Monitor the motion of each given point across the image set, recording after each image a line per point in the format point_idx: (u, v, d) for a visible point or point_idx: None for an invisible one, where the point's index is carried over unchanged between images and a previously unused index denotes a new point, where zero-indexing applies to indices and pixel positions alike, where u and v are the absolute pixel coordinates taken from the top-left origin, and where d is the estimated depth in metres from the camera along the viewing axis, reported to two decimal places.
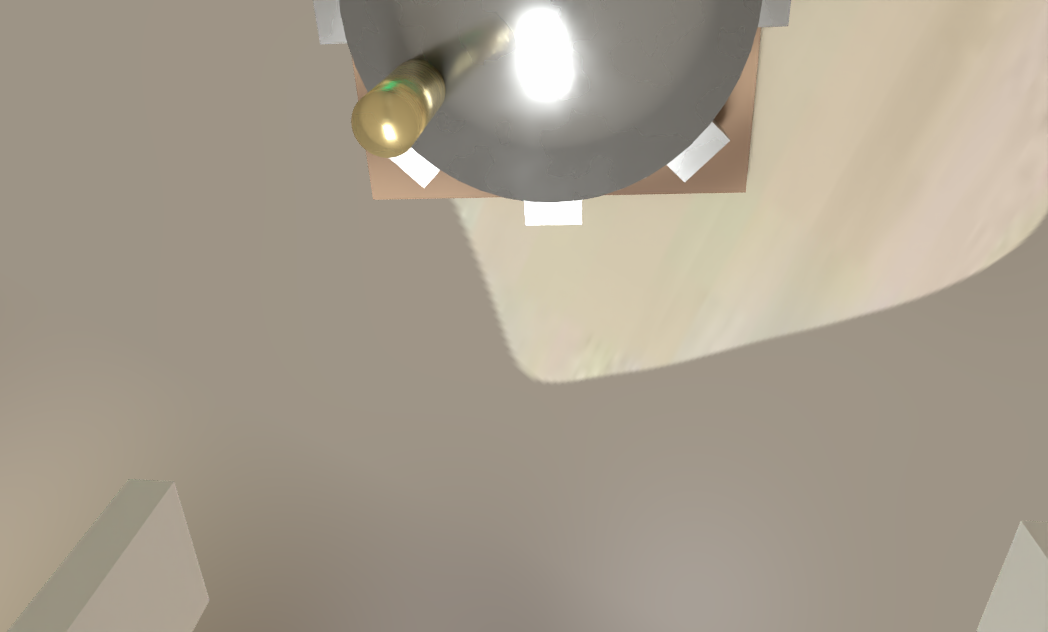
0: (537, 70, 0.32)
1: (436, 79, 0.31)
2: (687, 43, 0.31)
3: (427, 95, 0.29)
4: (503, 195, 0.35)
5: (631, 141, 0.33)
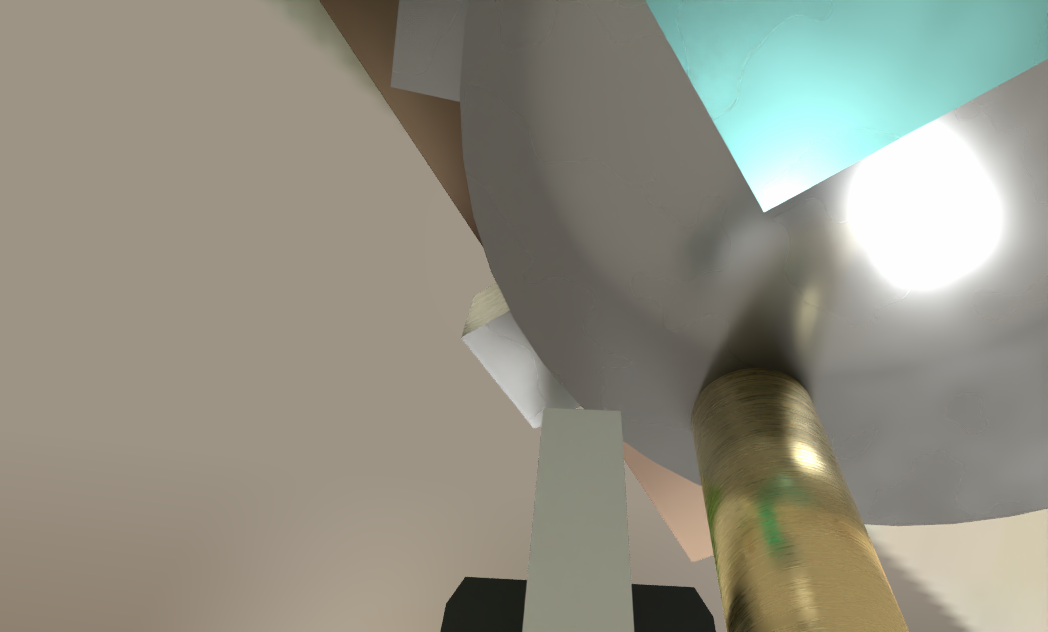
0: (1007, 273, 0.13)
1: (800, 405, 0.14)
2: None
3: (843, 500, 0.12)
4: (1007, 513, 0.16)
5: None
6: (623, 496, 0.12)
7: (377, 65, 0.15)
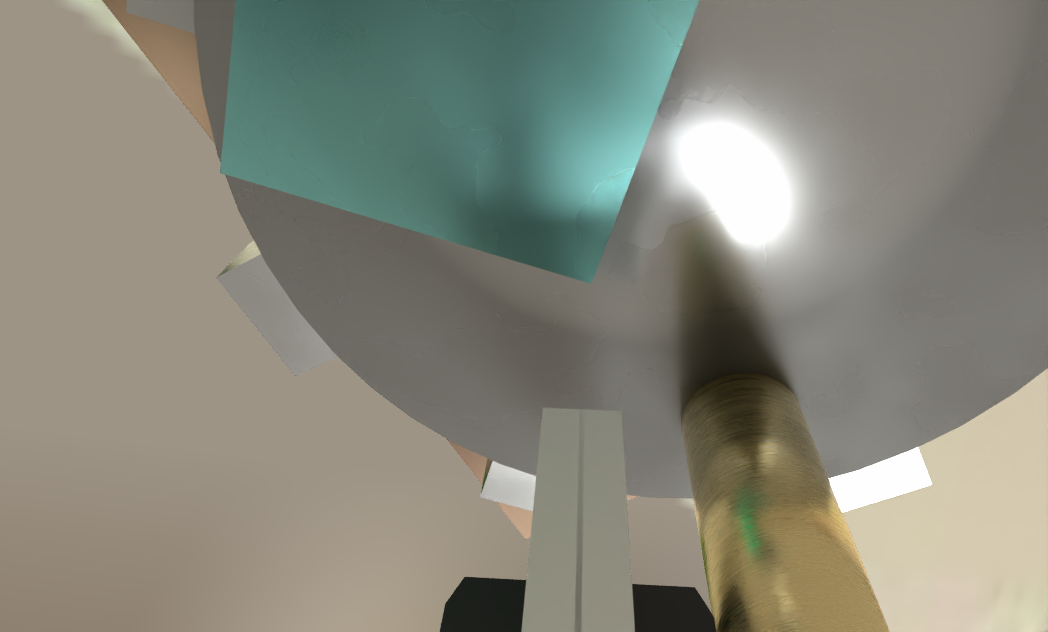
0: (833, 184, 0.13)
1: (745, 403, 0.14)
2: None
3: (780, 491, 0.12)
4: None
5: None
6: (624, 496, 0.12)
7: (155, 49, 0.15)
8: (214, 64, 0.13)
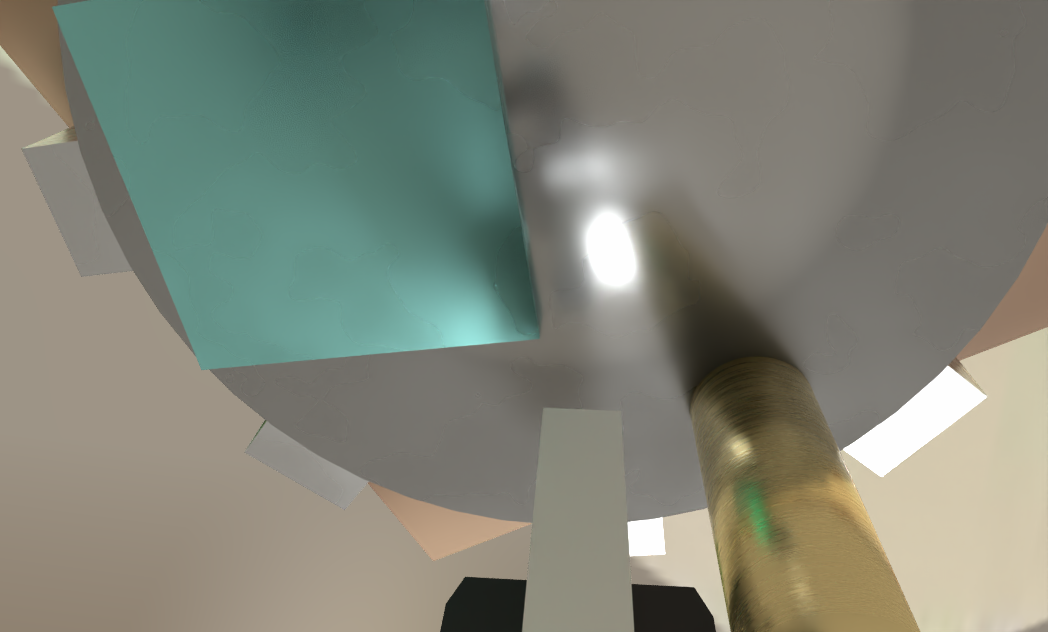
0: (710, 161, 0.13)
1: (729, 394, 0.14)
2: None
3: (760, 479, 0.12)
4: (1043, 221, 0.13)
5: None
6: (623, 496, 0.12)
7: (45, 82, 0.16)
8: (157, 287, 0.15)
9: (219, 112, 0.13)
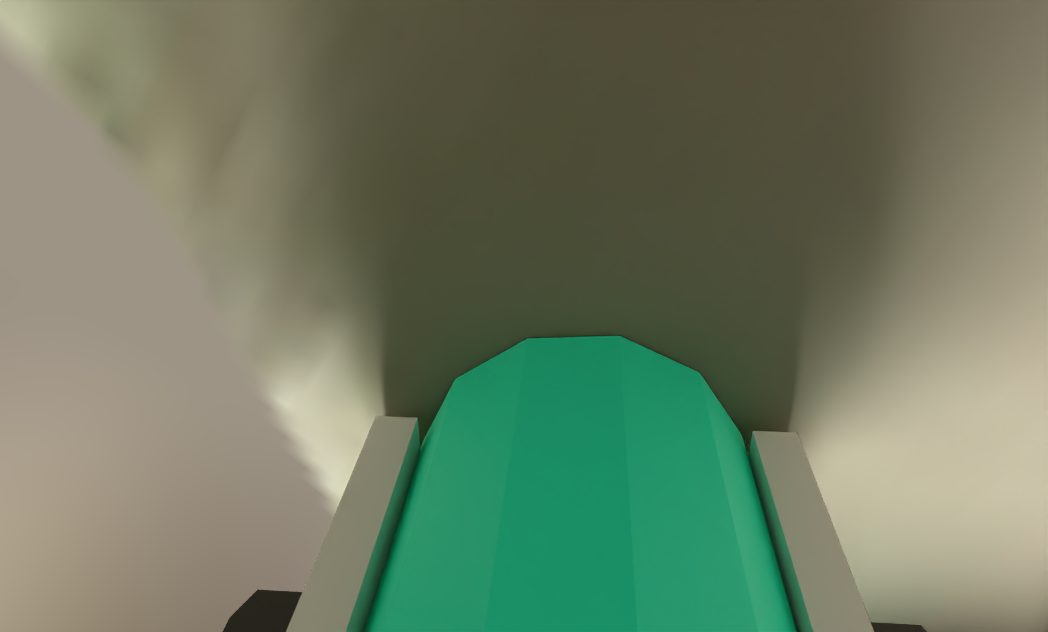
0: None
1: None
2: None
3: None
4: None
5: None
6: (831, 526, 0.11)
7: None
8: None
9: None
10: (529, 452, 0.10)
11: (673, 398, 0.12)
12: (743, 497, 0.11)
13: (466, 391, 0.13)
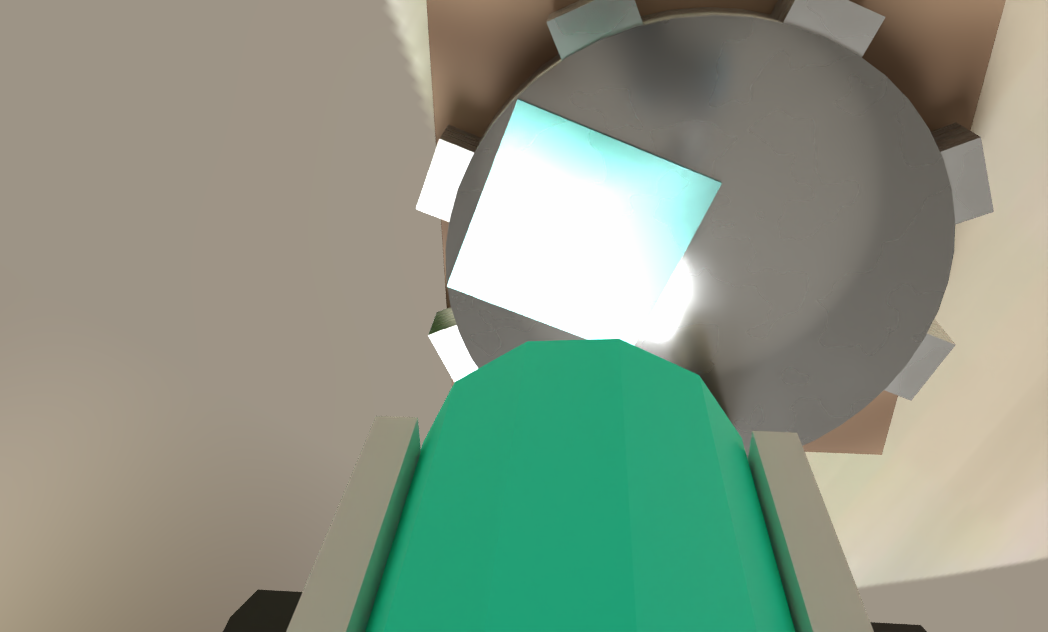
0: (752, 317, 0.27)
1: None
2: (827, 149, 0.24)
3: None
4: (861, 407, 0.28)
5: (897, 254, 0.25)
6: (830, 526, 0.11)
7: (439, 91, 0.26)
8: (455, 236, 0.26)
9: (558, 183, 0.25)
10: (529, 455, 0.10)
11: (673, 401, 0.12)
12: (743, 500, 0.11)
13: (465, 394, 0.13)
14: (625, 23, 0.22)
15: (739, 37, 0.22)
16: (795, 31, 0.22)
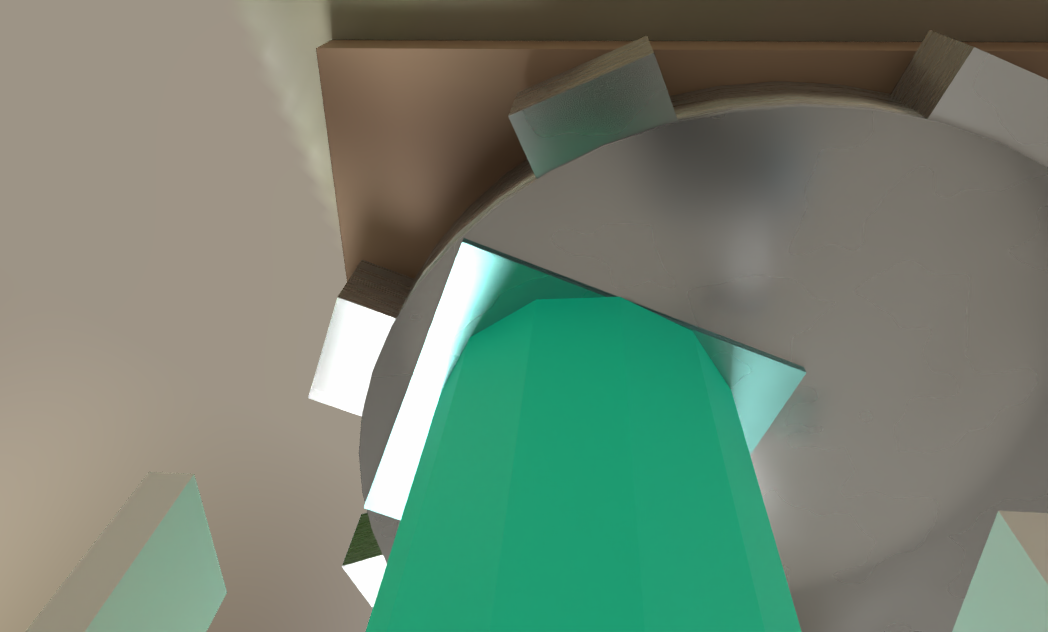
0: (843, 556, 0.17)
1: None
2: (988, 322, 0.14)
3: None
4: None
5: None
6: None
7: (348, 205, 0.16)
8: (373, 437, 0.16)
9: None
10: (540, 389, 0.12)
11: (668, 350, 0.13)
12: (731, 436, 0.12)
13: (480, 346, 0.14)
14: (646, 118, 0.13)
15: (848, 143, 0.13)
16: (949, 133, 0.12)
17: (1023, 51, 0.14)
